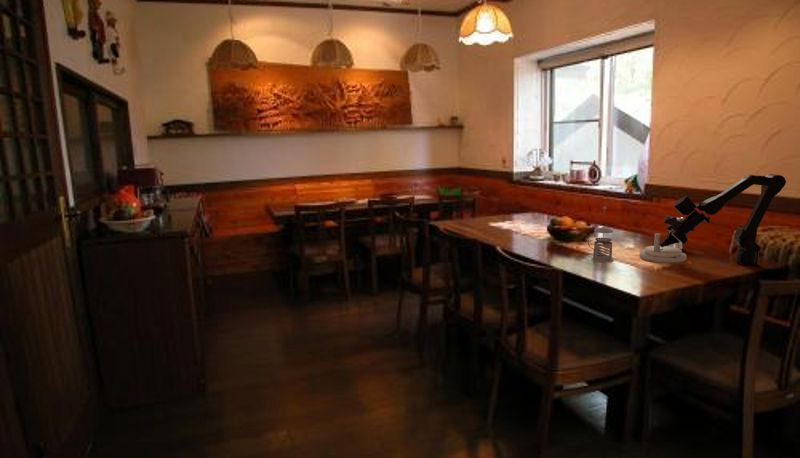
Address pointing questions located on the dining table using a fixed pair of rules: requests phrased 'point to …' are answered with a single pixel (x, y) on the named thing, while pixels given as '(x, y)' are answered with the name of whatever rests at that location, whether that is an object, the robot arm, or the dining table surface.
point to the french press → (605, 243)
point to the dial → (662, 249)
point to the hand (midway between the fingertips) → (660, 246)
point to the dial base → (663, 258)
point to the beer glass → (679, 245)
